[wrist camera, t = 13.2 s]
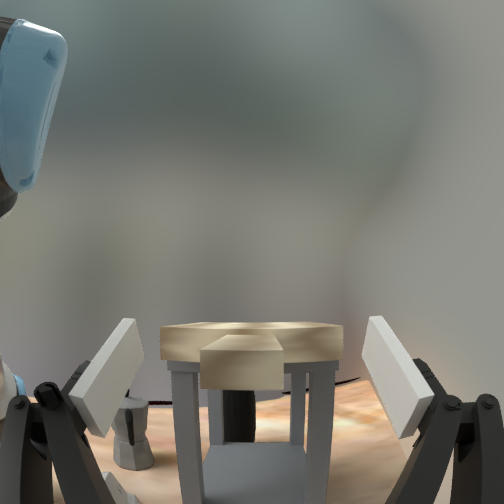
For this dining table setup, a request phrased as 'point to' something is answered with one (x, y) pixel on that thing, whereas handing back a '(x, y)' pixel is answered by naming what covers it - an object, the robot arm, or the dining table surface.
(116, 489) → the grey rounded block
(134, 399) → the coffeepot
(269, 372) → the cutting board
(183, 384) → the side table
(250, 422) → the portable speaker
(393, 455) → the dining table surface
